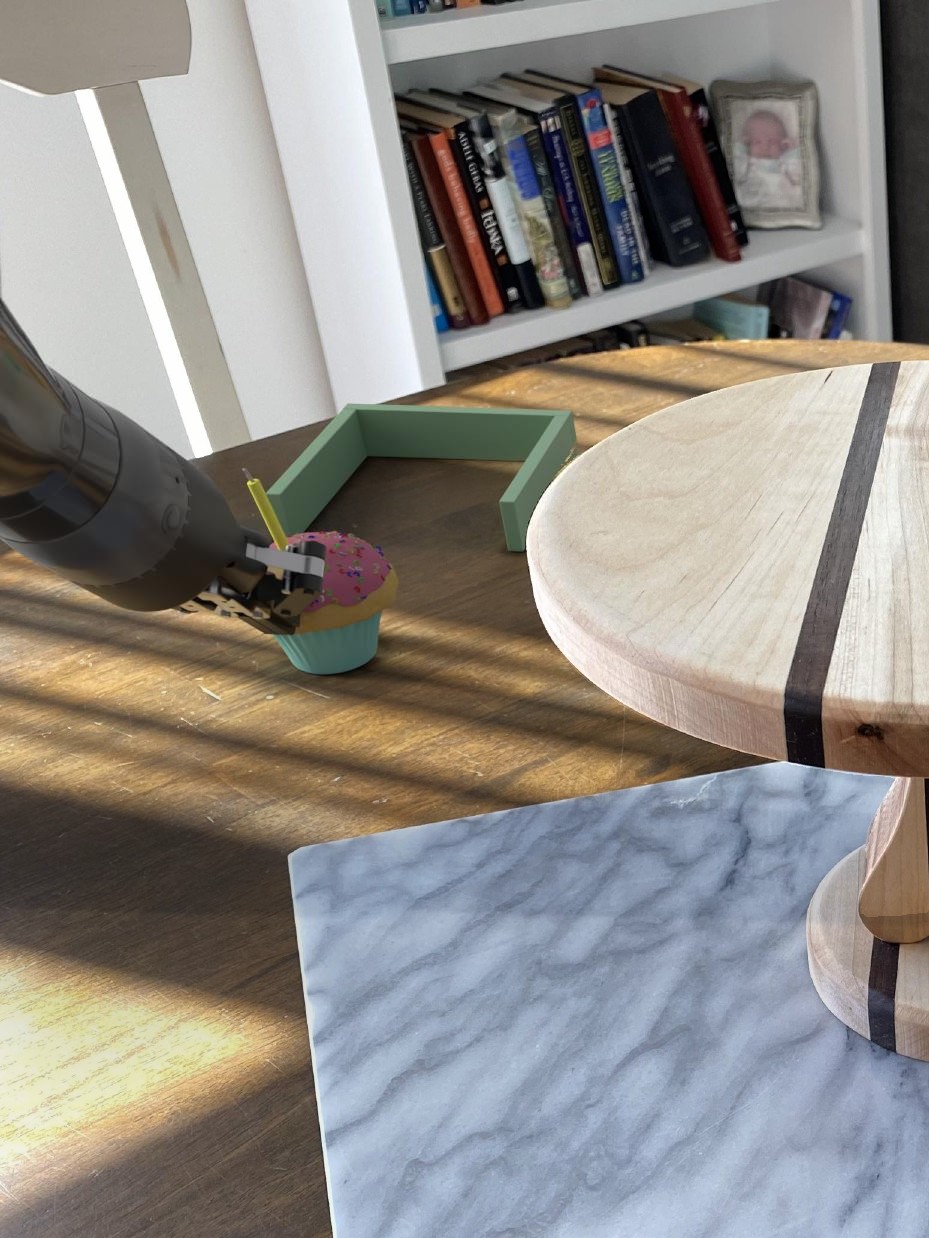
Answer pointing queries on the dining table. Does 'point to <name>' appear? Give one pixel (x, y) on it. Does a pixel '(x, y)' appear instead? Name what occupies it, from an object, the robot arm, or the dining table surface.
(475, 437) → the corral
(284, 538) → the cupcake
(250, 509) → the dining table surface
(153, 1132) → the dining table surface
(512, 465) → the dining table surface
